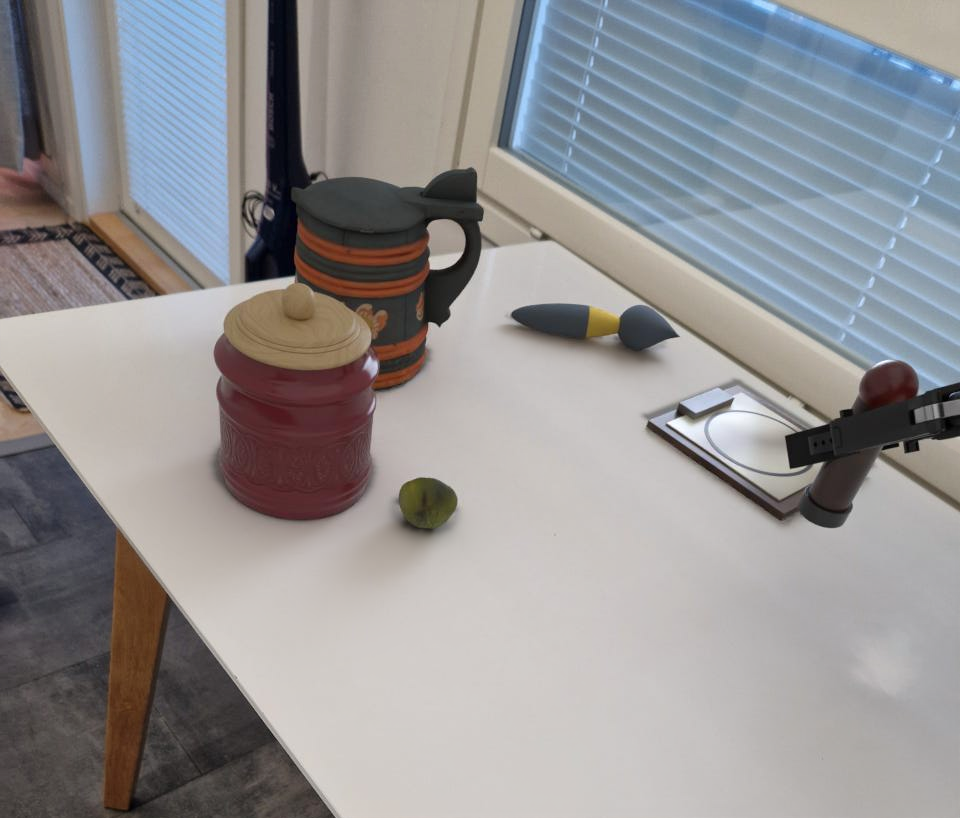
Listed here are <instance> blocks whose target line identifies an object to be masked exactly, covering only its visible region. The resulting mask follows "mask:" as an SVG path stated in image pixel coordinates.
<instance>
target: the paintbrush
mask: <svg viewBox="0 0 960 818" xmlns="http://www.w3.org/2000/svg"><path fill="white" fill-rule="evenodd" d="M510 316H511V318H512V319H513V320H514V321H515V322H517V323H518V324H521V325H523V326H525V327H528V328H530V329H533V330H536V331H540V332H544V333H546V334H552V335H555V336H562V337H566V338H567V337H568V338H577V339H592V338H599V337H606V336H612V335H616V334H617V336H618V339H619V341H620V342H621V343H622V344H623V346H625V347H626V348H628V349H630V350H633V351H642V350H646V349H649V348H652V347H654V346H655V345H658V344H660V343H661V342H662V343H663V342H664V341H666V340H671V339H676V338H681V335H679V334H678V333H677V332H676V330H675V329H674V328H673V326H672V324H670V323H669V322H668V320H666V319H665V317H663V316H662V315H661V314H660V313H658V312H657V311H656V310H655V309H653V308H652V307H650V306H648V305H644V304H636V305H632V306H630V307H628V308H627V309H625V311H623V312H622V313H621V315H620V316H617V315H615V314H613V313H610V312H608V311H606V310H603V309H600V308H597V307H594V306H591V305H586V304H579V303H564V302H563V303H561V302H559V303H555V302H554V303H553V302H552V303H537V304H530V305H525V306H521V307H518V308H516V309H514V310H513V311H512V312H511V313H510Z"/></svg>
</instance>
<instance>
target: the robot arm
mask: <svg viewBox="0 0 960 818" xmlns="http://www.w3.org/2000/svg"><path fill="white" fill-rule="evenodd" d="M838 412H839V417H835V418H834V419H832V420H830V421H829V423H826V424H822V425H818V426H816V427H811V428H806V429H807V430H804V431H800V432H797V433H793V434H789V435H786V436H785V441H786V447H787V454H788V460H789V467H790V469H794V468H799V467H803V466H808V465H812V464H816V463H821V462H825V461H830V460H834V459H838V458H843V457H847V456H852V455H856V454H860V451H863V450H868V449H872V448H876V447H881V446H883V448H882V450H881V452H882V451H886V450H890V449H891V450H892V449H895V448H900V443H902V445H903V453H904V454H911V453H915V452H919V451H920V450H921V449H920V443H919V441H924V440H932V441H935V440H936V441H944V440H951V439H956V438H960V381H959V382H954V383H952V384H951V383H950V384H947V385H944V386H940V387H936V388H933V389H930V390H927V391H924V393H922V394H919V395H917V396H916V397H913V398H911V399H908V400H904V401H901V402H897V403H894V404H891V405H887V406H884V407H880V408H877V409H873V410H870V411H866V412H863V413H859V414H856V415H854V414H853V409H851V408H846V409H841V410H838Z"/></svg>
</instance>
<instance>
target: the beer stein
mask: <svg viewBox="0 0 960 818" xmlns="http://www.w3.org/2000/svg"><path fill="white" fill-rule="evenodd" d="M477 193H478V172H477V170H476V169H475V168H474V167H472V166H470V167H468V168H459V169H458V168H455V169H450V170H446V171H443V172H442V173H440V174H438V175H436V176H435V177H433V178H432V179H431V180H430V181H429V182H428V183H427V185H426V186H425V187H421V186H402V187H400V186H397V185H396V184H393V183H389V182H387V181H383V180H378V179H374V178H370V177H364V176H343V177H335V178H328V179H324V180H319V181H317V182H314V183H312V184H309V185H308V186H306V187H305V188H304V189H303V188H299V187H296V186H294V187H292V188H291V190H290V196H291V197H290V198H291V201H292V202H294V203H295V204H296V206H295V212H296V215H297V216H298V217H297V231H296V239H295V246H294V254H293V255H294V256H293V260H294V265H295V274H294V283H302V284H305V285H307V286H309V287H310V288H311V289H312V290H313V292H317V293H321V294H324V295H327V296H329V297H332V298H334V299H336V300H338V301H339V302H341V303H342V304H344V305H345V306H346V307H347V308H349V309H350V310H352V311H354V312H355V313H356V314H358V315H359V316H360V317H361V318H362V319H363V320H364V321H365V322H366V323H367V325H368V326H369V329H370V331H371V344H370V345H371V346H372V347H373V348H374V350H375V351H376V353H377V355H378V358H379V362H380V369H379V373H378V376H377V378H376V380H375V381H374V382H373V384H372V387H373V389H374V390H377V389H386V388H390V387H393V386H397V385H402V384H403V383H405V382H408V381H409V380H411V379H412V378H414V377H415V376H416V375H417V374H418V373H419V372H420V370H421V368H422V366H423V364H424V362H425V360H426V357H427V356H426V355H427V354H426V353H427V352H426V351H427V350H426V349H427V348H426V344H427V335H428V332H429V324H430V323H433V324H435V325H436V326H437V327H438V328H439V329H441V327H442V325H443V324H444V323H446V322H447V321H448V320H450V317H451V315H452V313H451V309H450V307H451V306H452V305H453V304H454V302H455V301H456V300H457V299H458V298H459V296H460V295H461V294H462V293H463V291H464V290H465V289H466V287H467V286H468V284H470V282H471V279H472V278H473V276H474V274H475V272H476V270H477V269H478V265H479V262H480V260H481V255H482V248H483V247H482V245H483V241H482V239H483V238H482V232H481V226H480V223H482V222H483V221H484V214H485V213H484V212H485V209H484V208H485V207H483V206H482V205H481V204H480V203H478V195H477ZM440 220H449V221H452V222H455V223H456V224H457V225H459V227H460V228H461V230H462V232H463V234H464V239H465V240H464V241H465V242H464V248H463V252H462V254H461V256H460V257H459V259H458V260H457V261H456V262H454V264H452V265H450V266H447V267H445V268H441V269H440V268H439V269H434V268H433V269H431V263H430V260H429V259H430V256H431V249H430V246H429V245H428V244H429V241H430V238H431V237H430V236H431V235H430V233H429V230H428V226H429V225H430V224H431V223H432V222H434V221H440ZM294 283H293V284H294Z"/></svg>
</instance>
